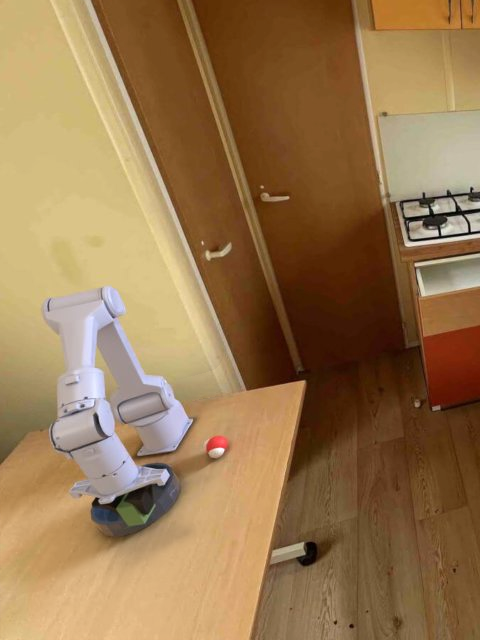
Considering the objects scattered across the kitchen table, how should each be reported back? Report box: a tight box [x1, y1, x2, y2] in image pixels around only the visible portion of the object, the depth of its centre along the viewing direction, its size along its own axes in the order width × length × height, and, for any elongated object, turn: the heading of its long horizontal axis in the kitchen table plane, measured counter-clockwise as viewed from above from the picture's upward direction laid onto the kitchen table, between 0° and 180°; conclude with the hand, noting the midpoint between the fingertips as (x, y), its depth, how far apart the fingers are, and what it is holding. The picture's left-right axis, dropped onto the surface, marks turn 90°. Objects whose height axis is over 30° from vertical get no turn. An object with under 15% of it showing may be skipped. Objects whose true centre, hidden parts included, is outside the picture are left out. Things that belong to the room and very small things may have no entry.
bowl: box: [89, 462, 181, 538], centre depth 87 cm, size 13×13×4 cm
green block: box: [116, 492, 156, 526], centre depth 79 cm, size 4×3×6 cm
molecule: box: [202, 435, 229, 459], centre depth 98 cm, size 5×5×4 cm
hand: (139, 511), depth 80 cm, fingers closed on green block, 3 cm apart
